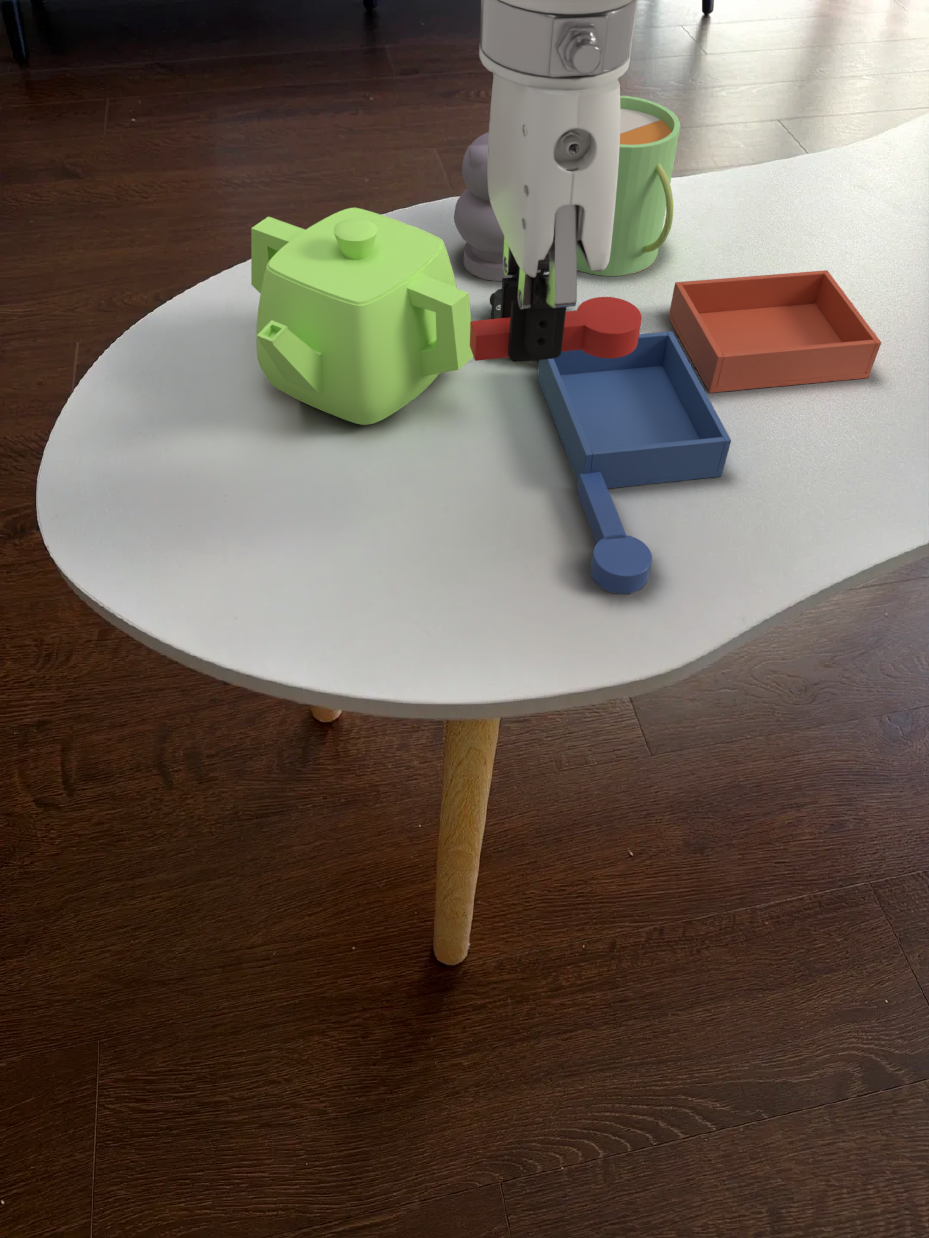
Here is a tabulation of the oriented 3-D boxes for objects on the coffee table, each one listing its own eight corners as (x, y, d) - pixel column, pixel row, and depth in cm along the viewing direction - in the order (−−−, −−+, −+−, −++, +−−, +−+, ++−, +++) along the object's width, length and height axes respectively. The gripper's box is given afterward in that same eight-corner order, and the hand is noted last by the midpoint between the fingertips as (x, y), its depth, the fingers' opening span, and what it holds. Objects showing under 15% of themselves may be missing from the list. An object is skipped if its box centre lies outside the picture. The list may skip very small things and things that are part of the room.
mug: (526, 241, 104) (536, 114, 95) (608, 210, 109) (625, 86, 100) (616, 301, 98) (636, 172, 89) (699, 266, 102) (725, 139, 93)
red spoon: (465, 335, 68) (466, 309, 67) (626, 318, 70) (630, 293, 68) (479, 373, 66) (480, 347, 64) (646, 355, 67) (650, 330, 66)
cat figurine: (520, 233, 105) (529, 106, 96) (558, 274, 101) (571, 145, 92) (438, 250, 103) (440, 122, 94) (474, 293, 98) (479, 162, 89)
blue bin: (665, 366, 92) (672, 331, 89) (721, 476, 83) (731, 440, 80) (537, 378, 90) (540, 342, 87) (580, 491, 81) (586, 455, 78)
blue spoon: (613, 488, 81) (616, 469, 80) (655, 590, 75) (659, 572, 73) (561, 494, 81) (563, 475, 79) (598, 597, 74) (602, 579, 73)
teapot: (382, 499, 80) (377, 347, 70) (175, 402, 87) (144, 251, 77) (512, 374, 90) (523, 227, 80) (319, 296, 97) (307, 151, 87)
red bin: (816, 305, 99) (827, 270, 96) (868, 378, 91) (881, 342, 89) (668, 317, 96) (674, 282, 94) (709, 393, 89) (718, 357, 87)
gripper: (683, 91, 49) (626, 419, 63) (585, -32, 59) (555, 273, 73) (520, 101, 48) (499, 433, 62) (449, -26, 58) (444, 283, 72)
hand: (529, 345), depth 67 cm, fingers closed on red spoon, 1 cm apart
